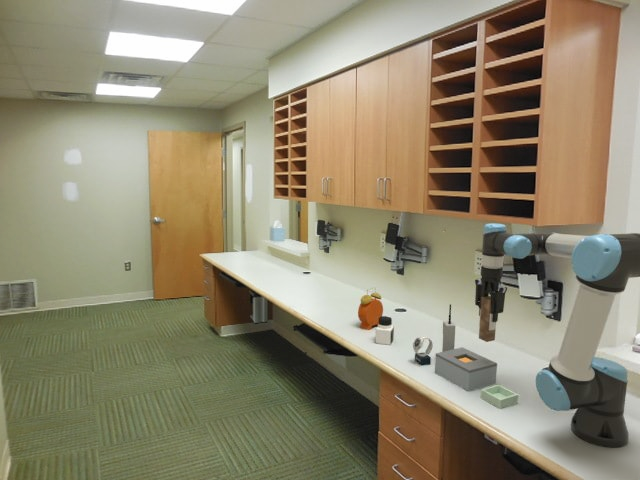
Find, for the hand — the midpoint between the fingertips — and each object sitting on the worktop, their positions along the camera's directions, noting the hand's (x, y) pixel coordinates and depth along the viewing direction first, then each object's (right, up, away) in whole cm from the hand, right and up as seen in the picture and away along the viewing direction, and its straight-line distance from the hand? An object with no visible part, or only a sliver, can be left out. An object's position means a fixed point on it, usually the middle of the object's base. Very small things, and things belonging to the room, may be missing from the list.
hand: (487, 327), depth 177 cm
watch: (-20, -19, +22) cm, 35 cm away
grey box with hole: (-6, -21, +7) cm, 23 cm away
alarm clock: (-36, -12, +66) cm, 77 cm away
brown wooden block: (0, -5, +1) cm, 5 cm away
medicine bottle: (-32, -15, +45) cm, 57 cm away
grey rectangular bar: (-9, -19, +23) cm, 31 cm away
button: (-6, -16, +6) cm, 18 cm away
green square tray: (0, -24, -11) cm, 26 cm away
